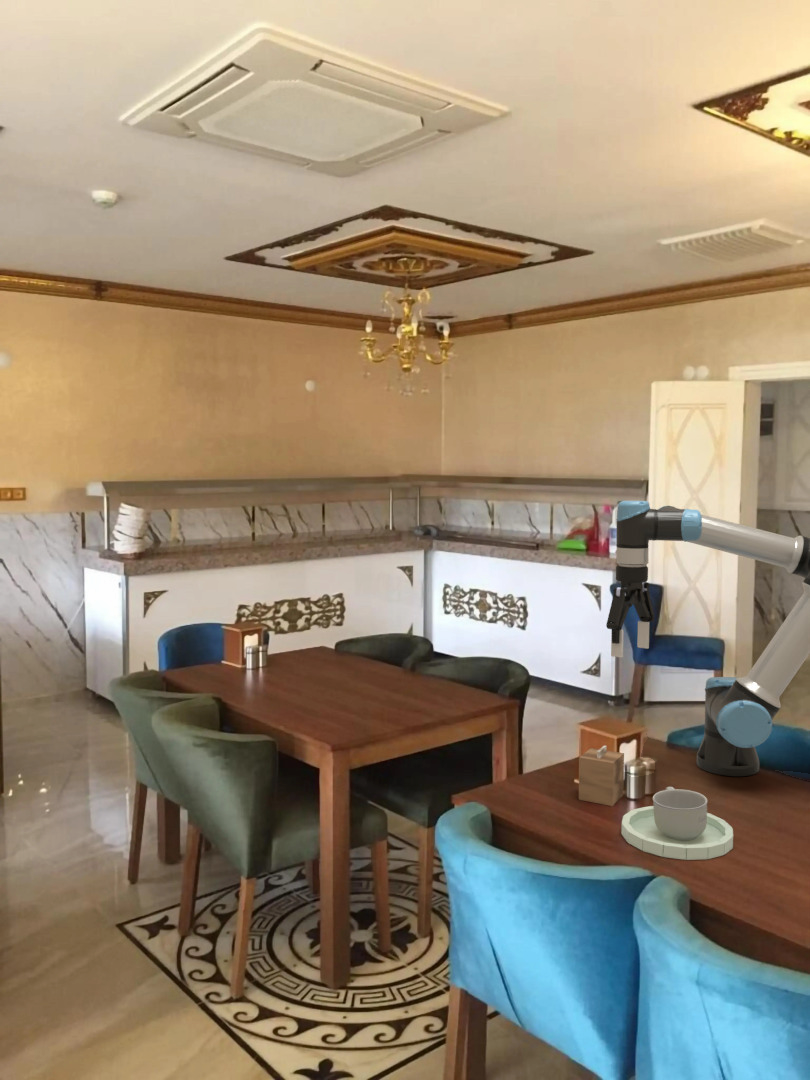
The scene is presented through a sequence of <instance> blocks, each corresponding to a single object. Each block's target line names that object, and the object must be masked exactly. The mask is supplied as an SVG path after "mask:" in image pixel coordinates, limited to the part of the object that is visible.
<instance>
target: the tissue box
mask: <svg viewBox="0 0 810 1080" xmlns="http://www.w3.org/2000/svg"><path fill="white" fill-rule="evenodd" d="M607 749H608V748H607V745H602V747H600V748H595V747H594V748H593V747H590V748H589V749H588V750H587V751H585V752H584V753H582V754H581V755H580V756H579V757H578V800H580V801H584V802H590V803H594V804H600V805H604V806H611V807H614V805H615V804H616V803H617V802H619V800H620V799H621V798H622V797H623V796H624V784H625V783H624V777H625V776H624V775H625V774H624V773H625V753H624V752H617V751H613V750H607Z"/></svg>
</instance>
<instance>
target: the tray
mask: <svg viewBox="0 0 810 1080" xmlns="http://www.w3.org/2000/svg"><path fill="white" fill-rule="evenodd" d="M620 832H621V835H622V837H623V838H624V840H625V841H626V842H627V843H628V844H629V845H631V846H633V847H635V848H636V849H638V850H640V851H642V852H644V853H648V854H650V855H655V856H659V857H662V858H666V859H667V858H669V859H675V860H682V861H690V860H691V861H694V860H695V861H697V860H711V859H713V858H717V857H721V856H724V855H727V854H728V853H729V852H730V851H731V850H732V849H734V829H733V827H732V826H731V825H730V824H729V823H728V822H727V821H726V820H725V819H722V818H720V817H718V816H716V815H714V814H712V813H711V812H710V813H709V812H707V824H706V828H705V830H704V832H703V833H701V834H700V835H698V837H696V838H694V839H692V840H675V839H671V838H669V837H667V836H665V835H664V834H663V833H662V832H661V831H660V830H659V829H658V828H657V826H656V824H655V820H654V806H653V805H650V806H643V807H639V808H634V809H631V810H630V811H629V812H626V813H625V814H624V815H622V820H621V831H620Z"/></svg>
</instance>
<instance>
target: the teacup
mask: <svg viewBox="0 0 810 1080" xmlns="http://www.w3.org/2000/svg"><path fill="white" fill-rule="evenodd" d="M652 801H653V802H652V803H653V805H652V806H654V820H655V824H656V826H657V828H658V829H659V830H660V831H661V832H662V833H663V834H664V835H665V836H667V837H669V838H671V839H675V840H692V839H694V838H696V837H698V835H700V834H701V833H703V832H704V830H705V828H706V824H707V813H708V805H707V804H708V801H709V800H708V798H707V797H706V796H705V795H704V794H702V793H700V792H698V791H694V790H689V789H684V788H683V789H682V788H681V789H677V788H674V787H673V786H667V787H665V789H663V790H659V791H658V792H656V793H655V794H653V796H652Z"/></svg>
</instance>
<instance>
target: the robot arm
mask: <svg viewBox="0 0 810 1080" xmlns="http://www.w3.org/2000/svg"><path fill="white" fill-rule="evenodd" d="M616 512H617V513H616V545H615V546H616V549H615V552H614V553H615V556H616V558H615V559H616V562H615V563H616V564H618V565H617V566H615V580H616V581H617V582H619V583H620V587H617V586H615V587H613V593H612V600H611V603H610V609H609V613H608V617H607V620H606V625H605V626H606V628H607V630H611V640H610V641H611V642H610V643H611V644H610V653H611V654H610V657H613V658H614V657H615V658H620V659H621V658H624V629H623V626H624V623H625V620H626V617H627V615H628V612H629V609H630V608H631V607H632V606H634V609H635V612H636V614H637V616H638V618H639V620H637V644H636V645H637V646H636V647H637V648H639V649H645V650H646V649H647V650H648V649H649V648H650V622H651V623H652V622H654V620H655V619H654V617H655V612H654V607H653V603H652V598H651V594H650V583H649V582H648V580H649V567H648V566H647V564H649V544H650V543H649V542H650V541H665V542H667V541H668V542H669V541H671V542H672V541H673V542H674V541H675V542H684V543H685V542H687V543H691V544H694V545H698V546H702V547H706V548H710V549H714V550H717V551H721V552H726V553H729V554H731V555H737V556H740V557H744V558H748V559H751V560H755V561H759V562H763V563H766V564H770V565H774V566H778V567H781V568H785V570H786V571H787V573H788V574H792V575H796V576H798V577H799V576H800V577H802V578H804V579H803V581H802V583H801V585H802V589H803V594H802V595H801V597H799V599H798V600H797V602H795V605H794V606H793V608H792V610H791V611H790V612H789V614H788V615H787V617H786V618H785V619H784V621H783V622H782V623H781V625H780V626H779V628H778V630H777V631H776V633H775V634H774V636H773V637H772V639H770V640H769V642H768V644H767V645H766V647H765V649H764V650H763V651H762V653H761V654H760V655H759V657H758V659H757V660H756V662H755V663H754V664H753V666H752V668H750V670H749V672H748V673H747V675H745V676H742V677H732V676H713V677H709V678H707V680H706V682H705V688H704V691H705V692H704V693H705V696H704V697H705V698H704V699H705V701H704V704H705V705H704V733H703V734H704V735H703V737H702V740H701V743H700V746H699V747H698V748H699V749H698V751H697V753H696V766H697V767H698V768H699V769H700V770H703V771H705V772H708V773H712V774H713V775H720V776H728V777H747V776H752V775H756V774H758V773H759V771H760V758H759V756H758V753H757V748H756V747H758V746H760V745H761V744H763V743H765V742H766V741H767V740H768V738H769V737H770V735H771V733H772V729H773V719H774V718H775V716H776V715H777V714H778V712H779V710H780V709H781V707H782V704H781V701H780V697H781V695H782V694H783V693H784V691H785V690H786V689H787V687H788V686H789V684H790V683H791V681H792V680H793V679H794V677H795V675H796V674H797V672H798V671H799V670H800V668H801V667H802V665H803V664H804V663H805V661H806V659H807V658H808V657H809V656H810V537H807V536H804V535H798V536H796V537H791V536H788V535H787V536H786V535H784V534H783V535H782V534H778V533H775V532H770V531H767V530H764V529H760V528H757V527H756V528H755V527H751V526H748V525H744V524H739V523H736V522H732V521H729V520H724V519H721V518H717V517H712V516H710V515H704V514H702V513H701V511H700V510H698V509H689V508H686V509H683V508H678V507H675V506H672V505H664V506H661V507H659V508H658V509H655V508H651V507H650V503H649V501H648V500H622V501H620V502H619V503H618V504H617V511H616Z"/></svg>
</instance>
